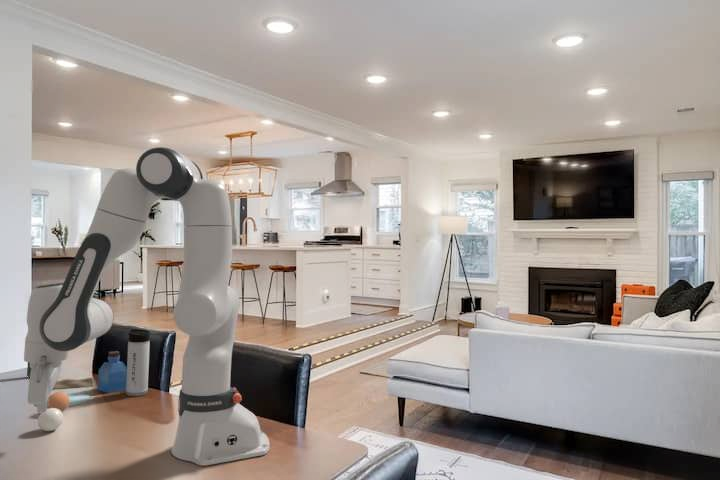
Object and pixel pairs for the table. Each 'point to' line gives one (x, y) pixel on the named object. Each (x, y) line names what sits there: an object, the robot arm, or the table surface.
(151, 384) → the table surface
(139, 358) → the travel mug
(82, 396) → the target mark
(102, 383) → the perfume bottle
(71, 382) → the rail
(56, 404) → the object ball
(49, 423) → the cue ball
